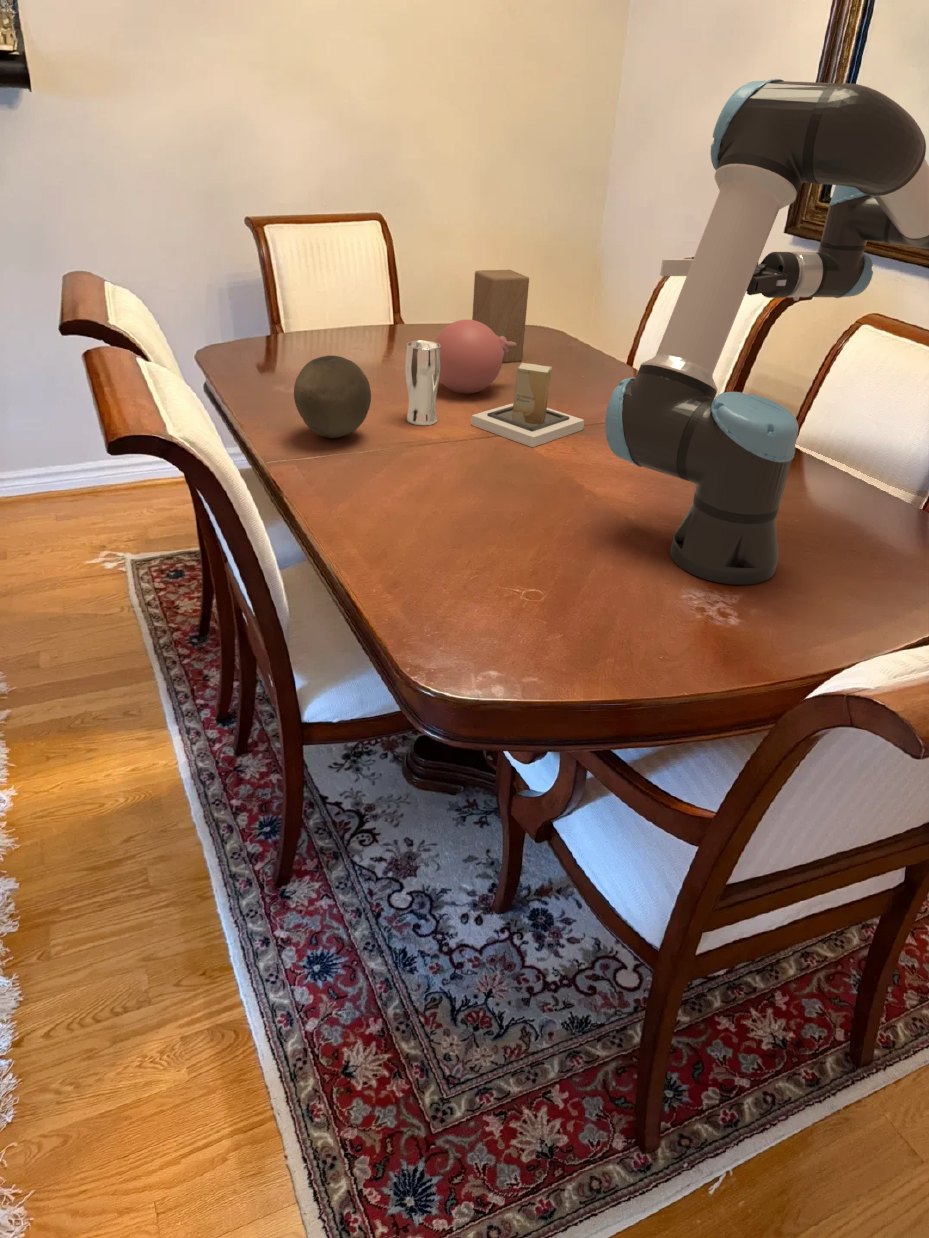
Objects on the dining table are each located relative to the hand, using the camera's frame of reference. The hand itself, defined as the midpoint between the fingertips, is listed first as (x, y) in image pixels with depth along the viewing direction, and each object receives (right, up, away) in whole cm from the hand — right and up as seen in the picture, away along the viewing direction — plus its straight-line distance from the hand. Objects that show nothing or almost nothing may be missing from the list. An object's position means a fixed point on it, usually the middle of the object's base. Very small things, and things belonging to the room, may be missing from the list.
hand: (680, 275), depth 145 cm
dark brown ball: (-61, -25, +16) cm, 68 cm away
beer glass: (-45, -19, +26) cm, 56 cm away
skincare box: (-24, -20, +26) cm, 41 cm away
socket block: (-24, -20, +26) cm, 41 cm away
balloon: (-35, -8, +45) cm, 57 cm away
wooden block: (-29, +7, +70) cm, 76 cm away
